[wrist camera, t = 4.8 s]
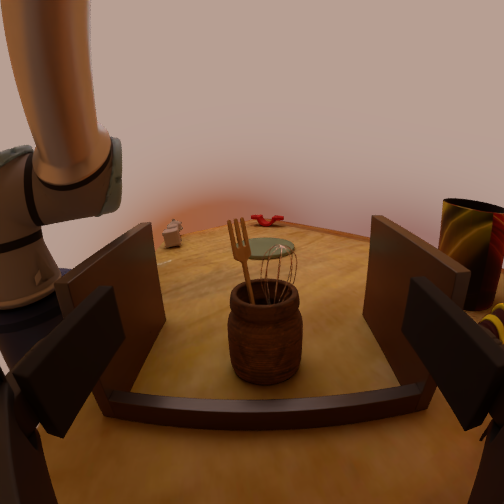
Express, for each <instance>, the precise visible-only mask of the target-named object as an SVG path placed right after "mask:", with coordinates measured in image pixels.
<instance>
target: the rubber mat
mask: <svg viewBox="0 0 504 504" xmlns="http://www.w3.org/2000/svg"><path fill="white" fill-rule="evenodd" d="M248 240H249V245H250V249H251V256H250V257H249V258H250V259H263V257H264V259H268V255H269V258H270V259H272V258H279V257H280V252H281V247H280V248H279V247H275V246H274V245H276V246H279V245H281V246H284V248H285V247H287V246H289V247H290V248H291V250H292V251H294V244H293V243H292V242H290V241H288V240H284V239H279V238H253V239H248ZM242 243H243V246H245V243H244V240H243V241H242ZM236 246H237V248H238V243H236ZM272 246H274V248H272ZM289 247H288V248H289ZM270 248H272V249H271V251H270V250H269V249H270ZM277 248H278V249H277ZM284 248H283V247H282V256H281V257H283V256H286V255H289V254H290V253H291V250H290V249H288V248H285V249H286V250H287V251H288V252H289V254H288V252H287V251H286V250H285V249H284ZM276 249H277V250H276ZM268 250H269V251H270V254H269V251H268ZM275 250H276V251H275ZM267 251H268V252H267ZM274 251H275V252H274ZM266 252H267V253H266ZM273 252H274V253H273ZM265 253H266V254H265ZM272 253H273V254H272ZM271 254H272V256H271ZM264 255H265V256H264ZM270 256H271V257H270Z"/></svg>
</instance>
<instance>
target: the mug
mask: <svg viewBox="0 0 504 504" xmlns="http://www.w3.org/2000/svg"><path fill="white" fill-rule="evenodd" d="M438 250H440V251H441V252H443V253H444V254H446V255H448V256H449V257H451V258H452V259H454V260H455V261H457V262H458V263H460V264H461V265H462V266H464V267H465V268H467V269H468V270H470V271H471V275H470V280H469V285H468V289H467V294H466V298H465V302H464V306H463V310H468V311H481V310H485V309H488V308H489V307H491V306H492V304H493V301H494V298H495V294H496V290H497V286H498V282H499V278H500V273H501V269H502V263H503V259H504V208H502V207H499V206H496V205H492V204H489V203H484V202H479V201H473V200H467V199H456V198H448V199H444V200H443V209H442V220H441V230H440V238H439V246H438Z"/></svg>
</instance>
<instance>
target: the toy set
mask: <svg viewBox="0 0 504 504" xmlns="http://www.w3.org/2000/svg"><path fill="white" fill-rule="evenodd" d="M181 223H182V222H178V221H175V220H174V219H173V220H172V222H171V223H170V224H168V225H167V230H166V229H165V230H164V232H163V233H162V234H163V237H164V241H165V247H166V248H168V247H172V246H176V245H181V241H182V240H181V238H180V233H179V232H180V230H182V229H183V228H182V226H181Z"/></svg>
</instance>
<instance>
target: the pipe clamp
mask: <svg viewBox="0 0 504 504" xmlns="http://www.w3.org/2000/svg"><path fill="white" fill-rule="evenodd" d="M251 219H257V221H258V223H259V224H260V225H262V226H270V225H271V224H273V223H274V222H275V221H276V220H284V217H283V216H276V215H275V216H274V217H272V220H271V222H268V221H266V220H265V219H264V218H263V215H252V216H251Z"/></svg>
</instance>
